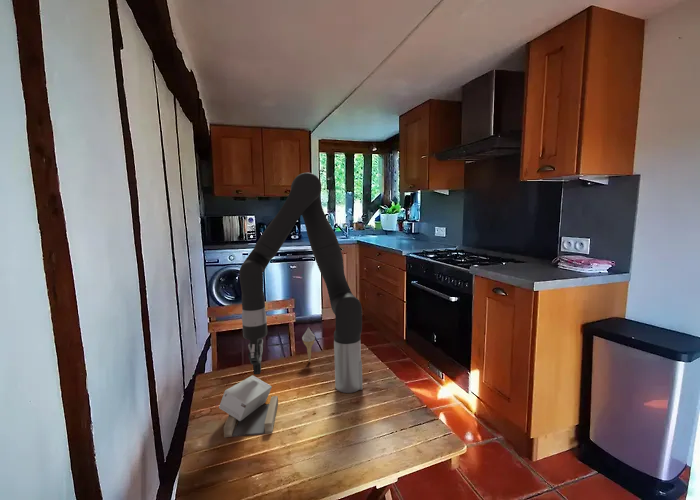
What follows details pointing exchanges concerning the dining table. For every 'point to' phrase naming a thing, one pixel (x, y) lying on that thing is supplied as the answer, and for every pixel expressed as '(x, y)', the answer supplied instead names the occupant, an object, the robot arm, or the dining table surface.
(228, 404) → the skincare box
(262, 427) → the rest
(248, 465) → the dining table surface
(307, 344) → the ice cream cone
